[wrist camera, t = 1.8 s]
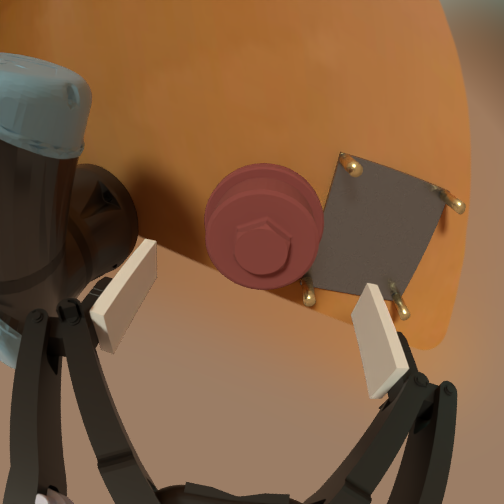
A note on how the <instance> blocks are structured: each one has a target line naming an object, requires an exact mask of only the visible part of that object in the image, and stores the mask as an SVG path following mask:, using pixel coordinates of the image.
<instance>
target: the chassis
mask: <svg viewBox="0 0 504 504" xmlns="http://www.w3.org/2000/svg"><path fill="white" fill-rule="evenodd" d="M445 204H447V205H448V206H449V207H451V208H452V209H453V210H454V211H456V212H457V213H458V214H462V213H463V212H464V211H465V208H466V206H465V204H464V203H463V202H462V201H460V200H459V199H458V198H456V197H455V196H454V195H452V194H451V193H450V192H449V191H448V190H445V189H443V188H441V187H438V186H436V185H434V184H431V183H429V182H426V181H424V180H421V179H419V178H416V177H414V176H411V175H409V174H406V173H403V172H401V171H398V170H395V169H392V168H389V167H387V166H384V165H381V164H378V163H375V162H372V161H369V160H366V159H362V158H359V157H356V156H353V155H349V154H346V153H342V152H340V154H339V158H338V162H337V165H336V169H335V173H334V176H333V180H332V183H331V187H330V190H329V194H328V197H327V200H326V204H325V207H324V210H323V214H324V230H323V234H322V238H321V241H320V243H319V248H318V252H317V256H316V258H315V260H314V262H313V264H312V266H311V267H310V269H309V270H308V271H307V272H306V273H305V274H304V275H303V276H302V278H301V281H300V285H302V291H303V302H304V305H305V306H313V305H314V304H315V302H316V300H315V293H314V287H316V288H322V289H327V290H333V291H339V292H344V293H350V294H356V295H361V294H362V292H363V290H364V288H365V286H366V284H367V283H371V284H376V285H378V287H379V290H380V292H381V294H382V297H383V299H386V300H392V301H393V302H394V304H395V306H396V309H397V311H398V313H399V315H400V318H401V320H407V319H408V318H409V317H410V313H409V311H408V308H407V306H406V304H405V302H404V300H403V298H402V294H403V293H404V291H405V289H406V287H407V285H408V284H409V282H410V280H411V278H412V276H413V274H414V272H415V270H416V268H417V266H418V264H419V262H420V260H421V258H422V256H423V254H424V252H425V250H426V248H427V246H428V244H429V242H430V239H431V237H432V235H433V233H434V230H435V228H436V226H437V224H438V221H439V219H440V216H441V214H442V211H443V209H444V206H445Z"/></svg>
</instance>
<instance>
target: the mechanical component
mask: <svg viewBox="0 0 504 504" xmlns="http://www.w3.org/2000/svg"><path fill="white" fill-rule="evenodd" d="M204 224H205V231H206V237H205V241H206V248H207V251H208V255H209V257H210V259H211V261H212V263H213V264H214V265H215V267H216V268H217V269H218V270H219V271H220V273H221V274H223V275H224V276H225V277H227V278H228V279H229V280H231V281H233V282H234V283H236V284H239V285H241V286H244V287H247V288H251V289H258V290H269V289H276V288H280V287H284V286H286V285H289V284H291V283H293V282H295V281H297V280H298V279H299V278H301V277H302V276H303V275H304V274H305V273H306V272H307V271H308V270H309V269H310V267H311V266H312V264H313V262H314V260H315V258H316V256H317V252H318V248H319V243H320V241H321V238H322V234H323V230H324V214H323V210H322V206H321V204H320V201H319V198H318V196H317V194H316V192H315V191H314V189H313V188H312V186H311V185H310V184H309V183H308V182H307V181H306V180H305V179H304V178H303V177H302V176H300V175H299V174H298V173H296V172H294V171H293V170H291V169H289V168H286V167H283V166H280V165H275V164H267V163H260V164H252V165H247V166H244V167H242V168H239V169H237V170H235V171H233V172H232V173H230V174H229V175H227V176H226V177H225V178H224V179H223V180H222V181H221V182H220V183H219V184H218V185H217V187H216V188H215V190H214V191H213V192H212V194H211V196H210V198H209V200H208V203H207V206H206V210H205V217H204Z"/></svg>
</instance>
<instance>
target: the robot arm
mask: <svg viewBox="0 0 504 504" xmlns="http://www.w3.org/2000/svg"><path fill="white" fill-rule="evenodd" d="M91 103H92V94H91V90H90V87H89V85H88V84H87V82H86V81H85V80H84V79H83V78H82V77H81V76H80V75H78V74H77V73H75V72H73V71H71V70H69V69H67V68H65V67H62V66H59V65H57V64H54V63H51V62H48V61H44V60H41V59H37V58H33V57H28V56H23V55H17V54H10V53H0V361H2V362H3V363H4V364H6V365H8V366H9V367H11V368H14V369H15V376H14V383H13V391H12V402H11V416H10V463H11V467H10V471H9V475H8V480H7V484H6V489H5V494H4V499H3V504H74V503H73V502H72V501H71V500H70V499H69V498H68V497H67V484H66V474H65V466H64V458H63V448H62V436H61V408H60V407H61V406H60V404H61V403H60V402H61V396H60V395H61V394H60V393H61V368H62V356H64V357H67V362H68V368H69V372H70V377H71V381H72V385H73V389H74V392H75V396H76V399H77V403H78V406H79V410H80V413H81V416H82V419H83V423H84V426H85V428H86V431H87V434H88V437H89V440H90V442H91V445H92V447H93V450H94V452H95V455H96V458H97V460H98V464H97V465H98V469H99V471H100V474H101V476H102V478H103V480H104V483H105V485H106V487H107V489H108V491H109V493H110V494H111V497H112V498H113V500H114V502H115V504H370V503H371V501H372V498H371V494H372V492H373V491H374V490H375V488H376V487H377V485H378V484H379V482H380V481H381V479H382V477H383V476H384V475H385V473H386V471H387V470H388V468H389V467H390V465H391V463H392V462H393V460H394V458H395V457H396V455H397V453H398V451H399V450H400V448H401V446H402V444H403V442H404V440H405V439H406V437H407V435H408V433H409V435H408V439H407V443H406V447H405V451H404V454H403V458H402V461H401V465H400V468H399V471H398V474H397V477H396V480H395V483H394V486H393V489H392V492H391V495H390V497H389V500H388V503H387V504H442V501H443V497H444V493H445V489H446V485H447V480H448V475H449V470H450V464H451V458H452V451H453V444H454V436H455V425H456V411H457V390H456V388H455V386H454V385H453V384H452V383H451V382H449V381H443V382H442V383H441V384H440V385H439V386H438V385H434V384H431V383H429V380H428V378H427V377H426V376H425V375H424V374H423V373H421V372H418V370H417V367H416V364H415V361H414V358H413V356H412V353H411V350H410V347H409V345H408V342H407V339H406V338H405V336H404V335H403V334H402V333H401V332H396V329H395V327H394V324H393V322H392V319H391V317H390V314H389V312H388V309H387V307H386V304H385V302H384V299H383V297H382V294H381V292H380V290H379V287H378V285H376V284H371V283H367V284H366V286H365V288H364V290H363V292H362V294H361V296H360V298H359V300H358V302H357V304H356V306H355V308H354V310H353V312H352V314H351V317H352V321H353V325H354V329H355V333H356V337H357V341H358V345H359V349H360V354H361V358H362V363H363V368H364V373H365V377H366V382H367V387H368V393H369V398H371V399H377V398H379V399H380V398H382V397H383V396H384V395H385V394H386V393H388V397H389V398H388V399H387V400H386V401H385V402H384V403H383V404H382V405H381V406H380V407H379V409H380V411H379V413H378V414H377V416H376V417H375V419H374V420H373V422H372V423H371V425H370V426H369V428H368V429H367V430H366V432H365V433H364V435H363V436H362V437H361V439H360V440H359V442H358V443H357V444H356V446H355V447H354V448H353V450H352V451H351V452H350V454H349V455H348V456H347V457H346V459H345V460H344V461H343V462H342V464H341V465H340V466H339V467H338V469H337V470H336V471H335V472H334V473H333V475H332V476H331V477H330V478H329V479H328V480H327V481H326V482H325V483H324V485H323V486H322V487H321V488H320V489H319V490H318V491H317V492H316V493H314V494H313V495H312V496H311V497H309V498H308V499H307V500H306V501H305V502H304V503H300V502H298V501H296V500H294V499H290V498H289V496H290V495H288V494H266V493H265V494H258V495H250V496H241V497H238V496H234V495H231V494H229V493H226V492H223V491H220V490H218V489H215V488H213V487H209V486H203V485H198V484H194V483H189V482H186V485H174V486H169V487H165V488H162V489H160V490H157V488H156V486H155V485H154V483H153V481H152V480H151V478H150V477H149V475H148V473H147V471H146V470H145V468H144V466H143V465H142V463H141V461H140V459H139V457H138V455H137V453H136V451H135V449H134V447H133V445H132V443H131V441H130V439H129V437H128V434H127V432H126V430H125V428H124V426H123V423H122V421H121V419H120V416H119V414H118V412H117V409H116V407H115V404H114V401H113V399H112V396H111V394H110V391H109V388H108V385H107V383H106V380H105V377H104V374H103V371H102V368H101V365H100V362H99V358H98V355H97V351H96V349H95V348H96V347H97V345H98V343H99V345H100V348H101V350H104V351H106V352H109V353H112V354H114V353H115V351H116V349H117V347H118V345H119V344H120V342H121V340H122V338H123V336H124V334H125V332H126V330H127V329H128V327H129V325H130V323H131V322H132V320H133V318H134V316H135V314H136V312H137V311H138V309H139V307H140V305H141V304H142V302H143V300H144V299H145V297H146V295H147V293H148V291H149V290H150V288H151V287H152V285H153V283H154V282H155V280H156V278H157V257H156V255H157V254H156V253H157V251H156V249H157V248H156V247H157V241H154V240H149V239H144V241H143V242H142V243H141V244H140V245H139V247H138V248H137V249H136V250H135V252H134V253H133V254H132V255H131V257H130V258H129V259H128V260H127V261H126V263H125V264H124V265H123V267H122V268H121V269H120V271H119V272H118V273H117V274H116V275H115V277H114V278H113V279H112V278H109V277H104V278H103V279H101V280H99V281H98V282H97V283H96V285H95V286H94V287H93V289H92V290H91V291H90V292H89V294H88V295H87V296H86V297H85V299H84V300H83V301H82V303H80V301H79V300H78V299H76V298H77V297H78V296H79V295H80V293H81V292H82V291H83V289H84V288H85V287H86V286H87V284H88V283H89V282H90V281H93V280H95V279H96V278H98V277H100V276H102V275H104V274H105V273H107V272H110V271H112V270H114V269H116V268H117V267H119V266H120V265H121V264H122V263H123V262H124V260H125V259H126V258H127V257H128V256H129V255H130V253H131V252H132V250H133V249H134V246H135V244H136V241H137V237H138V219H137V214H136V210H135V207H134V204H133V201H132V199H131V197H130V195H129V193H128V192H127V190H126V189H125V187H124V186H123V185H122V183H121V182H120V181H119V180H118V179H117V178H116V177H115V176H114V175H113V174H111V173H110V172H109V171H107V170H105V169H103V168H101V167H99V166H96V165H92V164H79V165H77V162H78V158H79V156H80V155H81V153H82V151H83V149H84V139H83V138H84V133H85V129H86V124H87V120H88V116H89V112H90V108H91Z"/></svg>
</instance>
